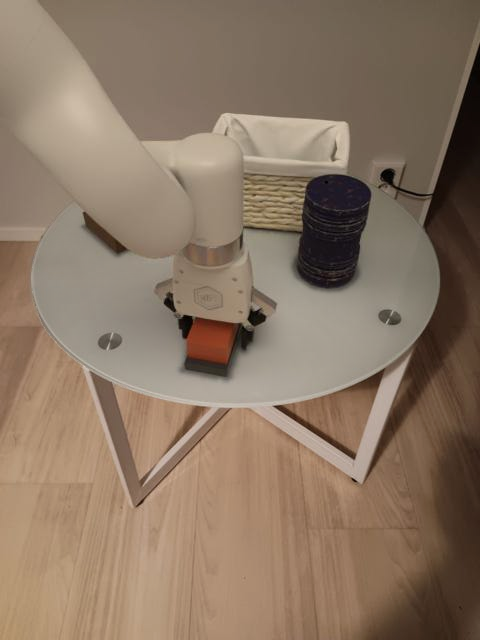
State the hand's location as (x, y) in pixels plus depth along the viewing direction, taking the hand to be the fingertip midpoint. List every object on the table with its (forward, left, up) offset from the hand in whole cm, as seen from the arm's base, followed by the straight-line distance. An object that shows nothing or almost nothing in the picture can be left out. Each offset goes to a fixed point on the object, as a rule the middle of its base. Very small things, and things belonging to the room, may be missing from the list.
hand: (216, 336), depth 74 cm
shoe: (0, 0, -1) cm, 1 cm away
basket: (+30, +18, -1) cm, 35 cm away
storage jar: (+24, 0, -1) cm, 24 cm away
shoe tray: (+9, +32, -1) cm, 33 cm away
